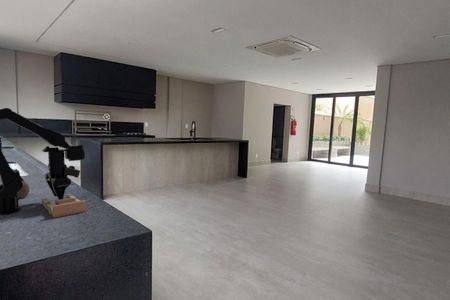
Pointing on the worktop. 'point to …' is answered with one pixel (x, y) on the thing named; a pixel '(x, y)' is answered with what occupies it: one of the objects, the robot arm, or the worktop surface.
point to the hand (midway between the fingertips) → (58, 198)
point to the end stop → (69, 208)
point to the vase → (23, 190)
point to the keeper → (65, 201)
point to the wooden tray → (48, 204)
